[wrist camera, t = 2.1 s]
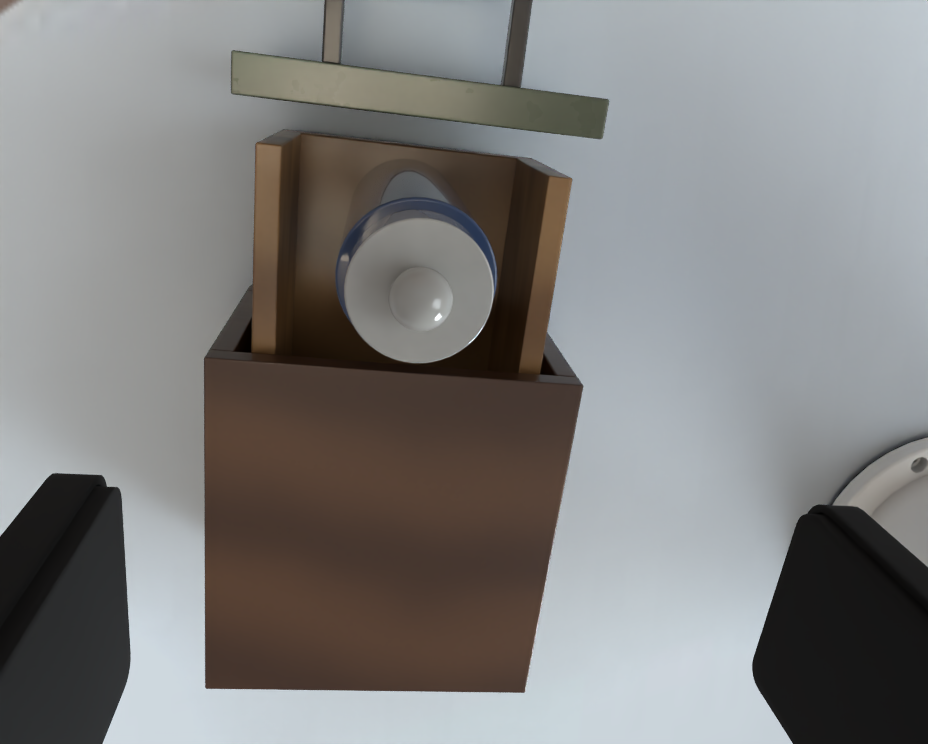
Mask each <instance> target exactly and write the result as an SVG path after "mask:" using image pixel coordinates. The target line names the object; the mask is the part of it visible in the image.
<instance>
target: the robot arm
mask: <svg viewBox="0 0 928 744" xmlns="http://www.w3.org/2000/svg"><path fill="white" fill-rule="evenodd" d="M129 668H130V638H129V620H128V602H127V585H126V567H125V550H124V532H123V514H122V498H121V492H120V489H119V488H118V487H107V485H106V481H105V479H104V477H103V476H102V475H84V474H60V473H55V474H51V475H50V476H49V477H48V478H47V479H46V480H45V482H44V483H43V484H42V485H41V487H40V488H39V489H38V490H37V492H36V493H35V494H34V495H33V497H32V498H31V499H30V500H29V502H28V503H27V504H26V505H25V507H24V508H23V509H22V510H21V512H20V513H19V514H18V515H17V517H16V518H15V519H14V520H13V521H12V523H11V524H10V525H9V526H8V528H7V529H6V530H5V531H4V533H3V534H2V535H1V536H0V744H102V743H103V741H104V738H105V736H106V733H107V731H108V728H109V726H110V723H111V721H112V718H113V716H114V713H115V711H116V708H117V706H118V703H119V701H120V698H121V696H122V693H123V691H124V688H125V685H126V682H127V679H128V674H129ZM752 670H753V677H754V680H755V683H756V685H757V687H758V689H759V691H760V692H761V694H762V695H763V697H764V698H765V700H766V702H767V703H768V705H769V706H770V708H771V710H772V711H773V713H774V714H775V716H776V717H777V719H778V721H779V722H780V724H781V725H782V727H783V728H784V730H785V732H786V733H787V735H788V736H789V738H790V740H791V741H792V743H793V744H928V437H927V438H924V439H920V440H917V441H913V442H910V443H908V444H906V445H904V446H902V447H899V448H897V449H895V450H893V451H891V452H889V453H887V454H886V455H884V456H883V457H881V458H880V459H878V460H876V461H875V462H873V463H872V464H870V465H869V466H868V467H867V468H865V469H864V470H863V471H862V472H861V473H860V474H859V475H857V476H856V477H855V478H854V479H853V480H852V481H851V482H850V483H849V484H848V485H847V487H846V488H845V489H844V490H843V491H842V493H841V494H840V495H839V496H838V497H837V498H836V500H835V502H834V503H833V505H816V506H814V507H812V508H811V509H810V510H809V511H808V514H805V515H802V516H801V517H800V518H799V520H798V522H797V524H796V527H795V530H794V533H793V537H792V540H791V543H790V546H789V549H788V552H787V555H786V558H785V561H784V565H783V568H782V571H781V574H780V577H779V580H778V583H777V586H776V589H775V593H774V596H773V599H772V602H771V605H770V608H769V611H768V614H767V618H766V621H765V624H764V627H763V630H762V633H761V636H760V639H759V642H758V646H757V649H756V652H755V655H754V658H753V663H752Z"/></svg>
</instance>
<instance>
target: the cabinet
mask: <svg viewBox="0 0 928 744" xmlns="http://www.w3.org/2000/svg"><path fill="white" fill-rule="evenodd" d="M252 293H253V286H250V287H249V288H248V290H247V291H246V293H245V295H244V296H243V298H242V299H241V301H240V303H239V304H238V306H237V307H236V309H235V310H234V312H233V314H232V315H231V317H230V318H229V320H228V321H227V323H226V325H225V326H224V328H223V329H222V331H221V332H220V334H219V336H218V337H217V339H216V340H215V342H214V344H213V345H212V347H211V348H210V350H209V351H208V353H207V355H206V356H205V358H204V463H205V688H206V689H278V690H356V691H435V692H513V693H524V692H525V690H526V685H527V679H528V674H529V669H530V664H531V658H532V653H533V648H534V643H535V637H536V632H537V627H538V622H539V616H540V611H541V606H542V601H543V595H544V590H545V585H546V580H547V574H548V569H549V564H550V559H551V553H552V548H553V543H554V538H555V532H556V527H557V522H558V516H559V511H560V506H561V501H562V495H563V490H564V485H565V480H566V474H567V469H568V464H569V459H570V453H571V448H572V443H573V438H574V432H575V427H576V422H577V417H578V411H579V406H580V401H581V396H582V390H583V385H582V383H581V382H580V380H579V379H578V378H577V376H576V375H575V373H574V372H573V370H572V369H571V367H570V366H569V364H568V363H567V361H566V360H565V358H564V357H563V355H562V354H561V352H560V351H559V349H558V348H557V346H556V345H555V343H554V342H553V340H552V339H551V337H550V336H549V334H548V333H547V334H546V340H545V346H544V352H543V358H542V364H541V370H540V375H539V374H525V373H512V372H499V371H485V370H472V369H459V368H445V367H432V366H419V365H405V364H392V363H379V362H365V361H352V360H339V359H325V358H312V357H299V356H285V355H272V354H259V353H251V343H252Z"/></svg>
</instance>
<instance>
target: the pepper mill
mask: <svg viewBox="0 0 928 744" xmlns="http://www.w3.org/2000/svg"><path fill="white" fill-rule="evenodd" d="M335 285H336V291H337V296H338V299H339V303H340V305H341V307H342V309H343V312H344V314H345V315H346V317H347V318H348V320H349V322H350V323H351V324H352V325H353V327H354V328H355V330H356V331H357V333H358V334H359V335H360V336H361V338H362V339H363V340H364V341H365V342H366V343H367V344H368V345H369V346H371V347H372V348H374V349H375V350H376V351H378V352H379V353H381V354H383V355H385V356H387V357H390V358H392V359H395V360H399V361H402V362H409V363H428V362H434V361H439V360H442V359H445V358H447V357H450V356H452V355H454V354H456V353H458V352H459V351H461V350H462V349H464V348H465V347H466V346H468V345H469V344H470V343H471V342H472V341H473V340H474V339H475V338H476V337H477V335H478V334H479V333H480V331H481V330H482V329H483V327H484V325H485V323H486V321H487V319H488V317H489V314H490V311H491V308H492V304H493V300H494V297H495V292H496V287H497V265H496V260H495V255H494V252H493V249H492V246H491V244H490V242H489V240H488V238H487V236H486V235H485V233H484V232H483V230H482V229H481V227H480V226H479V225H478V223H477V222H476V220H475V219H474V217H473V216H472V214H471V213H470V212H469V210H468V209H467V207H466V206H465V204H464V203H463V201H462V200H461V199H460V197H459V196H458V194H457V193H456V191H455V190H454V188H453V187H452V186H451V184H450V183H449V181H448V180H447V179H446V178H445V177H444V175H443V174H441V173H440V172H439V171H438V170H437V169H435V168H434V167H432V166H430V165H428V164H426V163H424V162H421V161H418V160H412V159H395V160H391V161H387V162H384V163H382V164H380V165H378V166H376V167H374V168H373V169H372V170H370V171H369V172H368V173H367V174H366V175H365V176H364V177H363V178H362V179H361V181H360V182H359V183H358V185H357V187H356V188H355V191H354V193H353V195H352V199H351V203H350V207H349V211H348V215H347V219H346V224H345V228H344V232H343V236H342V240H341V244H340V249H339V253H338V257H337V261H336V269H335Z"/></svg>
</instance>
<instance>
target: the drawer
mask: <svg viewBox="0 0 928 744" xmlns="http://www.w3.org/2000/svg"><path fill="white" fill-rule="evenodd" d="M344 4H345V0H325V4H324V25H323V46H322V62H319V61H311V60H304V59H296V58H289V57H281V56H273V55H266V54H258V53H250V52H243V51H235V50H233V51H232V52H231V93H232V94H235V95H243V96H251V97H259V98H268V99H276V100H284V101H292V102H300V103H308V104H317V105H325V106H333V107H341V108H349V109H357V110H365V111H374V112H382V113H390V114H398V115H406V116H414V117H423V118H431V119H439V120H447V121H455V122H463V123H472V124H480V125H488V126H496V127H504V128H512V129H521V130H529V131H537V132H545V133H553V134H561V135H569V136H578V137H586V138H594V139H602V138H603V133H604V128H605V122H606V116H607V111H608V105H609V100H608V99H602V98H595V97H587V96H579V95H572V94H564V93H556V92H549V91H541V90H533V89H526V88H520V87H521V80H522V73H523V66H524V59H525V51H526V44H527V37H528V29H529V22H530V15H531V8H532V0H512V3H511V10H510V18H509V26H508V34H507V42H506V49H505V57H504V65H503V73H502V80H501V85H495V84H487V83H480V82H472V81H465V80H457V79H449V78H442V77H434V76H426V75H419V74H411V73H403V72H396V71H388V70H380V69H373V68H365V67H357V66H350V65H342V64H341V57H342V40H343V22H344ZM395 159H412V160H418V161H421V162H424V163H426V164H428V165H430V166H432V167H434V168H435V169H437V170H438V171H439V172H440V173H441V174H443V175H444V177H445V178H446V179H447V180H448V181H449V183H450V184H451V186H452V187H453V188H454V190H455V191H456V193H457V194H458V196H459V197H460V199H461V200H462V201H463V203H464V204H465V206H466V207H467V209H468V210H469V212H470V213H471V214H472V216H473V217H474V219H475V220H476V222H477V223H478V225H479V226H480V227H481V229H482V230H483V232H484V233H485V235H486V236H487V238H488V240H489V242H490V244H491V246H492V249H493V252H494V255H495V260H496V265H497V287H496V292H495V297H494V300H493V304H492V308H491V311H490V314H489V317H488V319H487V321H486V323H485V325H484V327H483V329H482V330H481V331H480V333H479V334H478V335H477V337H476V338H475V339H474V340H473V341H472V342H471V343H470V344H469V345H468V346H466V347H465V348H464V349H462V350H461V351H459V352H458V353H456V354H454V355H452V356H450V357H447V358H445V359H442V360H439V361H434V362H428V363H409V362H402V361H399V360H395V359H392V358H390V357H387V356H385V355H383V354H381V353H379V352H378V351H376V350H375V349H374V348H372V347H371V346H369V345H368V344H367V343H366V342H365V341H364V340H363V339H362V338H361V336H360V335H359V334H358V333H357V331H356V330H355V328H354V327H353V325H352V324H351V323H350V322H349V320H348V318H347V317H346V315H345V314H344V312H343V309H342V307H341V305H340V303H339V299H338V296H337V291H336V285H335V269H336V261H337V257H338V253H339V249H340V244H341V240H342V236H343V232H344V228H345V224H346V219H347V215H348V211H349V207H350V203H351V199H352V195H353V193H354V191H355V188H356V187H357V185H358V183H359V182H360V181H361V179H362V178H363V177H364V176H365V175H366V174H367V173H368V172H369V171H370V170H372V169H373V168H374V167H376V166H378V165H380V164H382V163H384V162H387V161H391V160H395ZM571 185H572V178H570V177H568V176H566V175H564V174H562V173H560V172H558V171H556V170H554V169H552V168H550V167H548V166H546V165H544V164H542V163H540V162H538V161H536V160H533V159H531V158H524V157H516V156H507V155H499V154H490V153H481V152H473V151H464V150H456V149H447V148H439V147H430V146H422V145H413V144H405V143H396V142H388V141H379V140H371V139H362V138H353V137H345V136H336V135H328V134H319V133H311V132H302V131H294V130H285V129H284V130H281V131H279V132H277V133H275V134H273V135H271V136H269V137H267V138H265V139H263V140H261V141H259V142H257V143H256V144H255V194H254V244H253V293H252V343H251V353H259V354H272V355H285V356H299V357H312V358H325V359H339V360H352V361H365V362H379V363H392V364H405V365H419V366H432V367H445V368H459V369H472V370H485V371H499V372H512V373H525V374H539V375H540V370H541V364H542V358H543V352H544V346H545V340H546V334H547V328H548V322H549V316H550V310H551V304H552V298H553V292H554V286H555V280H556V274H557V268H558V262H559V256H560V250H561V244H562V238H563V232H564V226H565V220H566V214H567V208H568V202H569V196H570V191H571Z"/></svg>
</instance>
